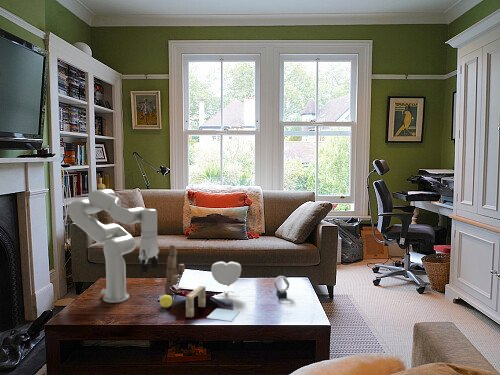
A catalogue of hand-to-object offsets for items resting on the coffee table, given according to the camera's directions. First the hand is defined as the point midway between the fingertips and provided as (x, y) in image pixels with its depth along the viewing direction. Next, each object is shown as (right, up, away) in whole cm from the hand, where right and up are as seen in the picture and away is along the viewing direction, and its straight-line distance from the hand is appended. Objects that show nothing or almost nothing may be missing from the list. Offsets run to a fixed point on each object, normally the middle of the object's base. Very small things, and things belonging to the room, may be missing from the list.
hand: (149, 269), depth 196 cm
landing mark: (+37, -19, -11) cm, 43 cm away
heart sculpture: (+37, -17, +15) cm, 43 cm away
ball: (+9, -15, -2) cm, 17 cm away
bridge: (+24, -19, -6) cm, 31 cm away
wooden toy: (+8, -17, +24) cm, 30 cm away
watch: (+66, -18, +14) cm, 70 cm away
